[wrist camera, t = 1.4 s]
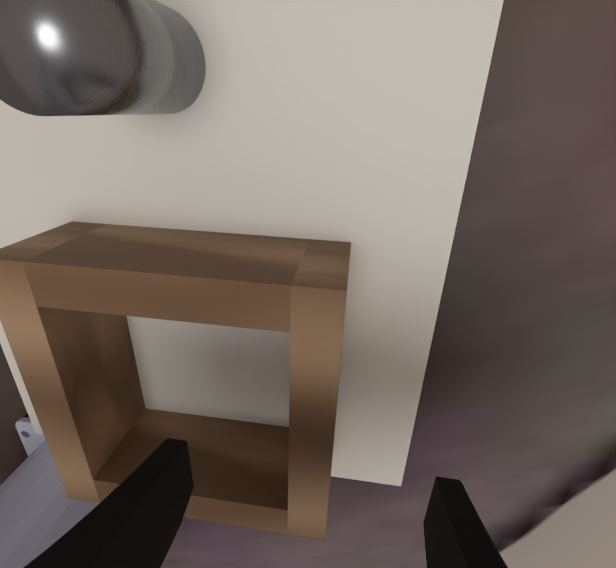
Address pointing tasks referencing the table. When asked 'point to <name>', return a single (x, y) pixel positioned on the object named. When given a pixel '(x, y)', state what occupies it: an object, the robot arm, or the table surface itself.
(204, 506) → the square collar
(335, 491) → the table surface
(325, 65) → the post board
